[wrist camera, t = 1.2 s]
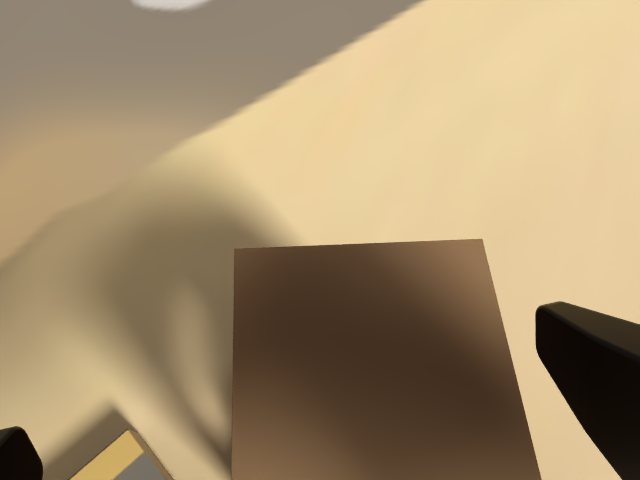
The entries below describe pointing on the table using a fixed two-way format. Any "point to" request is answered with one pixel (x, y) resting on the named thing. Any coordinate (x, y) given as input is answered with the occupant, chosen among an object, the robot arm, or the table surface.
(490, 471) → the open wooden box
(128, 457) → the dock
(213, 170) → the table surface
